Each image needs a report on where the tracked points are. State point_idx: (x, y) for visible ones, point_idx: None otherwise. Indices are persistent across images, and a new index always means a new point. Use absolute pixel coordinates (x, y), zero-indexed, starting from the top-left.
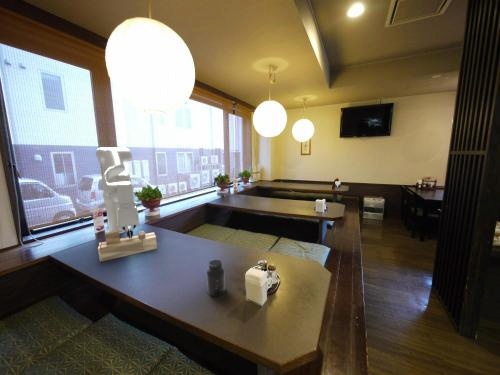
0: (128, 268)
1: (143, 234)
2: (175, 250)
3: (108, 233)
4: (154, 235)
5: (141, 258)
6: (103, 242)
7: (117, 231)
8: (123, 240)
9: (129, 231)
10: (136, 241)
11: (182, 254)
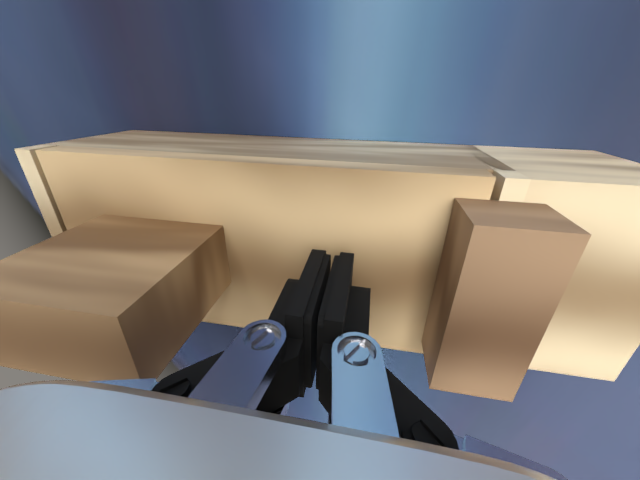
0: (313, 401)
1: (489, 396)
2: (622, 394)
3: (16, 365)
4: (634, 331)
5: (387, 354)
6: (55, 167)
7: (118, 366)
8: (259, 250)
9: (308, 385)
10: (384, 343)
11: (609, 455)
